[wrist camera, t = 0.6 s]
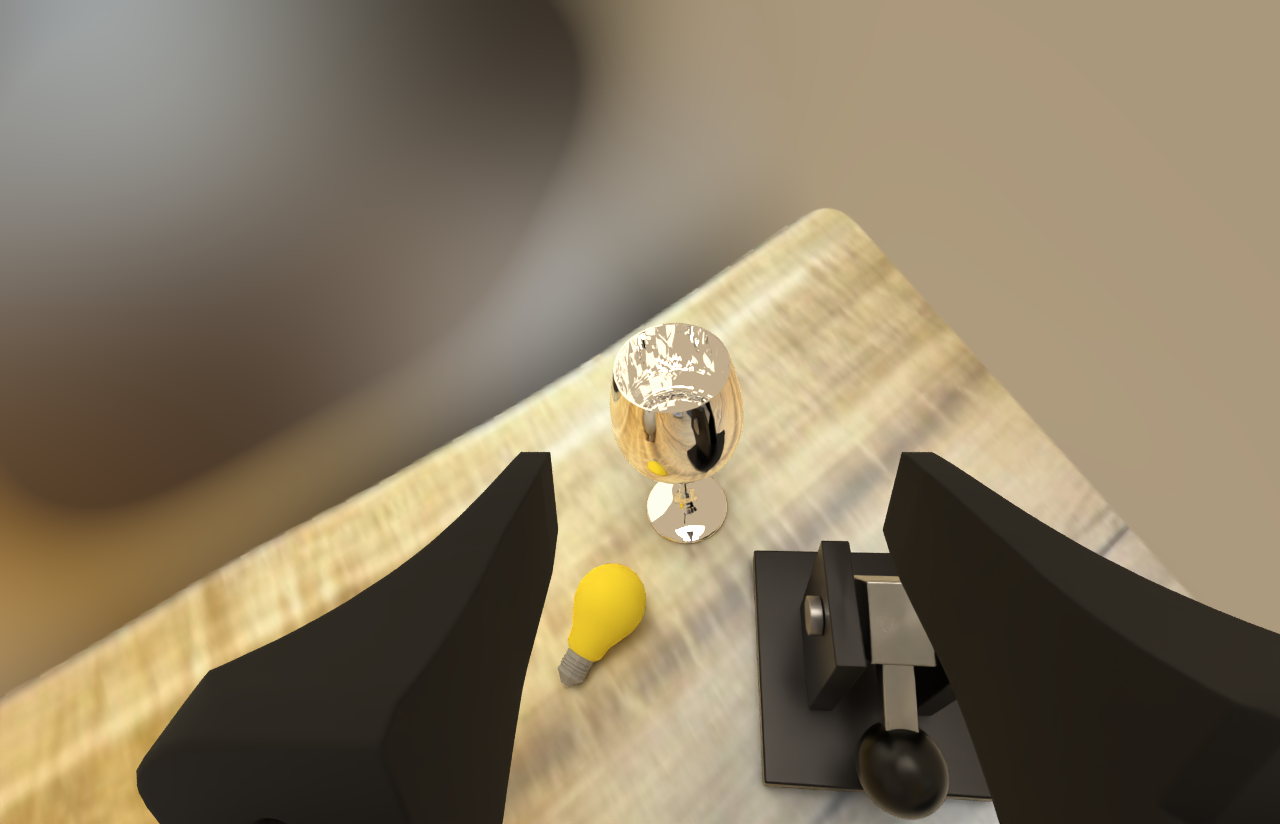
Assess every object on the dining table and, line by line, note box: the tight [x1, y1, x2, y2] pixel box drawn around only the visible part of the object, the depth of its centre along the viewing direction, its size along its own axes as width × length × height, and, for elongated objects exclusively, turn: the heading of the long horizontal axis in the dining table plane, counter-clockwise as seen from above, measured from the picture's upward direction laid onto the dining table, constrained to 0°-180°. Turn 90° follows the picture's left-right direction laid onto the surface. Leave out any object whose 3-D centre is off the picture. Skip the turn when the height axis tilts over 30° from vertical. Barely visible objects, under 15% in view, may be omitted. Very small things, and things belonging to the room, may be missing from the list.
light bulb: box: [558, 564, 646, 687], centre depth 29 cm, size 3×6×4 cm, turn 147°
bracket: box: [753, 541, 992, 802], centre depth 24 cm, size 10×9×9 cm
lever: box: [854, 575, 949, 820], centre depth 21 cm, size 8×3×3 cm, turn 176°
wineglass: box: [610, 323, 743, 543], centre depth 28 cm, size 6×6×12 cm
